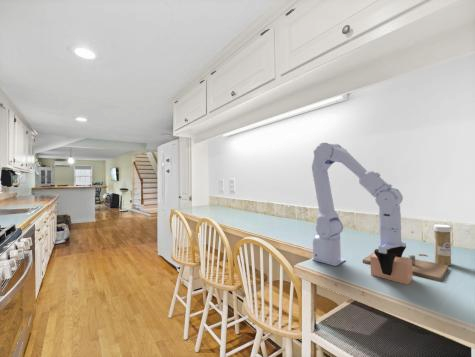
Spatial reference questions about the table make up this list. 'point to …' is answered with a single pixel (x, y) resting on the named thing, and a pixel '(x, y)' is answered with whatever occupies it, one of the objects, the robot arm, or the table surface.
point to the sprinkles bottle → (442, 244)
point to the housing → (394, 270)
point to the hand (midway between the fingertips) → (391, 270)
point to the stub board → (422, 268)
